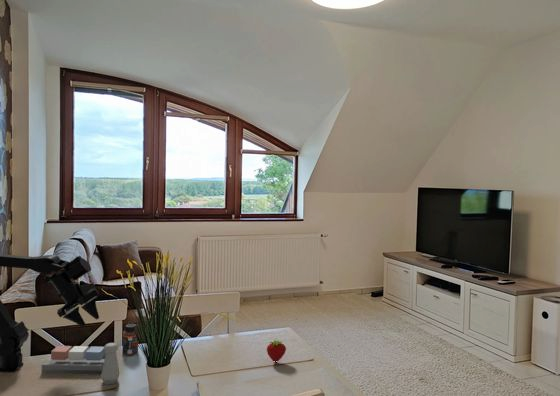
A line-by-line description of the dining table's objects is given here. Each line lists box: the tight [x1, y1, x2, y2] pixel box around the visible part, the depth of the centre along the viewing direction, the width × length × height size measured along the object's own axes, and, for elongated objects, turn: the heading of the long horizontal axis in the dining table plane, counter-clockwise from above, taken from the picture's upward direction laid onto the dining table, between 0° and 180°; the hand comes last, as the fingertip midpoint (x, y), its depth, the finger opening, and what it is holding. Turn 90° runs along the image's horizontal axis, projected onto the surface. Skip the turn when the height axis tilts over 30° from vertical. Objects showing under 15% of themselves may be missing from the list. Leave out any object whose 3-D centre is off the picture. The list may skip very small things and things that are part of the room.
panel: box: [41, 352, 106, 376], centre depth 154 cm, size 20×12×3 cm, turn 93°
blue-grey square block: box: [86, 345, 105, 361], centre depth 154 cm, size 5×5×3 cm
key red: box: [50, 345, 73, 361], centre depth 154 cm, size 5×5×3 cm
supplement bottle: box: [121, 323, 139, 357], centre depth 167 cm, size 6×6×11 cm
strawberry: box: [266, 338, 287, 362], centre depth 164 cm, size 6×8×10 cm
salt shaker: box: [100, 342, 121, 386], centre depth 144 cm, size 6×6×13 cm
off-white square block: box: [68, 345, 89, 360], centre depth 154 cm, size 5×5×3 cm
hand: (91, 322), depth 153 cm, fingers open, 9 cm apart
